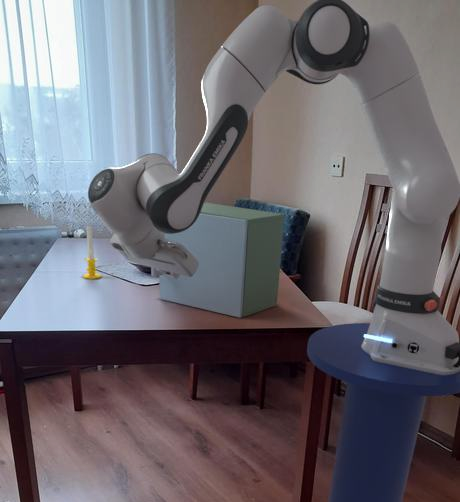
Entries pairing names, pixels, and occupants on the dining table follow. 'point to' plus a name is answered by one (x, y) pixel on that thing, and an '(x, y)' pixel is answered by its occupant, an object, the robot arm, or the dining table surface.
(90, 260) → the candle
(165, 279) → the cupboard door
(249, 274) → the cupboard
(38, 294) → the dining table surface
